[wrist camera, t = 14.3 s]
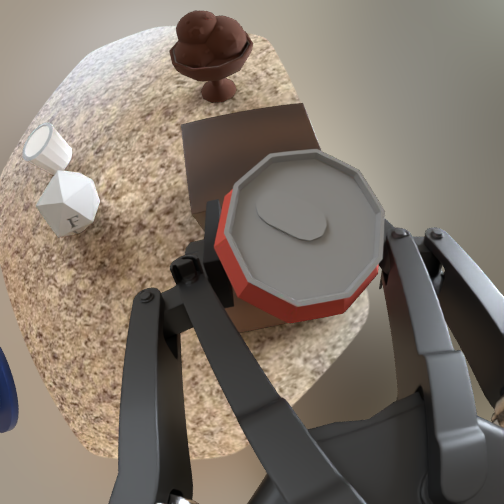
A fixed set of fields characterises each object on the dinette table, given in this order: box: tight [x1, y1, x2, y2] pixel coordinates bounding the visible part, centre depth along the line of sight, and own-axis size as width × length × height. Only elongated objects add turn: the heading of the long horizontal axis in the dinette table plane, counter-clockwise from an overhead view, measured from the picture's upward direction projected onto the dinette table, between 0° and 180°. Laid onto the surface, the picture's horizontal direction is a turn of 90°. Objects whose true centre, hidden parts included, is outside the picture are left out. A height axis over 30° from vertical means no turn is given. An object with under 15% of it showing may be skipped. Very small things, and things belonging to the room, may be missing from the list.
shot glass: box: [23, 123, 72, 175], centre depth 34 cm, size 7×7×7 cm
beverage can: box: [214, 149, 385, 323], centre depth 14 cm, size 6×6×12 cm
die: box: [36, 170, 100, 238], centre depth 31 cm, size 8×9×10 cm
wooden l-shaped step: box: [181, 103, 321, 333], centre depth 28 cm, size 20×12×11 cm, turn 11°
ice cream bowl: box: [170, 11, 253, 103], centre depth 31 cm, size 11×11×15 cm
